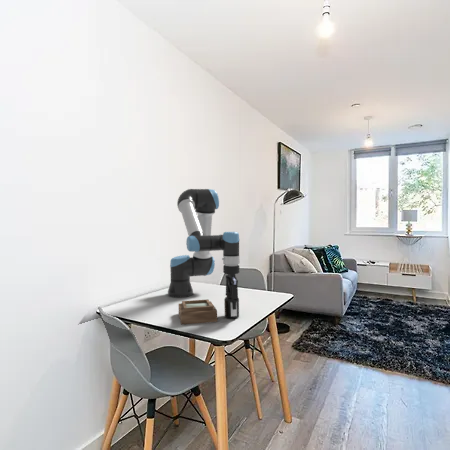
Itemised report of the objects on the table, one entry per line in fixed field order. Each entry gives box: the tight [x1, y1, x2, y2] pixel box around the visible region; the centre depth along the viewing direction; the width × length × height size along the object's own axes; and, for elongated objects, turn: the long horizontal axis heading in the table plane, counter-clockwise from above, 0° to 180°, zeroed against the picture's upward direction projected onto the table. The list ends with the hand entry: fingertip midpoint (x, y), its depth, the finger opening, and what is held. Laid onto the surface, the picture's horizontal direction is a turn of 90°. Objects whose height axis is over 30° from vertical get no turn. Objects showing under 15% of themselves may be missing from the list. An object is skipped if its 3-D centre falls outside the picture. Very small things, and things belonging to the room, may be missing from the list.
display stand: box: [178, 299, 218, 326], centre depth 148 cm, size 16×16×6 cm
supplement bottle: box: [224, 290, 240, 320], centre depth 148 cm, size 7×7×12 cm
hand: (231, 313), depth 148 cm, fingers closed on supplement bottle, 7 cm apart
